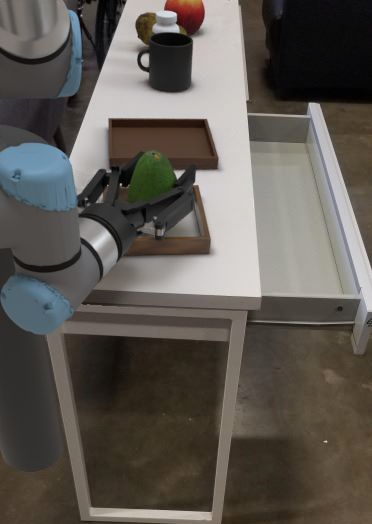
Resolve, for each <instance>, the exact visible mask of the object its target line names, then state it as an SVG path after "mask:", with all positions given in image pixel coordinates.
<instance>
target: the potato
mask: <svg viewBox="0 0 372 524" xmlns="http://www.w3.org/2000/svg"><path fill="white" fill-rule="evenodd" d="M156 23H157V21H156V12H151V11H150V12H149V11H146V12H144V13H141V14H139V15H138V17H137V19H136V20H135V24H134V26H135V27H134V28H135V30H136V34H137V38H138V40H140V41H141V43H143V44H144V45H146V46H149V37H150V36H151V35H152V29H153V26H154V24H156ZM178 27H179V29H180V33H181V34H185V35H187V32H186V31H185V29H184V28H182V27H181V26H179V25H178Z"/></svg>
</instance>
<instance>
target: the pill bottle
mask: <svg viewBox="0 0 372 524" xmlns="http://www.w3.org/2000/svg"><path fill="white" fill-rule="evenodd" d="M155 13H156V21H157V23H156V24H154V26H153V29H152V35H153V34H156V33H161V32H175V33H180V29H179V27H178V25H177V24H176V22H177V14H176V13H175V12H172V11H164V10H158V11H156V12H155Z"/></svg>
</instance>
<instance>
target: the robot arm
mask: <svg viewBox="0 0 372 524" xmlns="http://www.w3.org/2000/svg"><path fill="white" fill-rule="evenodd" d="M82 46H83V45H82V33H81V26H80V20H79V16H78V15H77V13H76V12H75V11H74V10H71V9H69V8H68V7H67V5H66V3H65V2H64V0H0V100H29V99H33V100H34V99H51V100H57V99H59V98H65V97H67V98H68V97H72V96H74V95H76V93H77V92H78V91H79V88H80V85H81V81H82V80H81V79H82V67H83V66H82V65H83V63H82V57H83V56H82V55H83V47H82ZM50 145H51V144H50ZM50 145H46V144H41V143H23V144H21V145H20V146H17V147H13V146H11V147H7V145H6V142H5V141H4V139H3V137H2V135H1V133H0V249H1V248H11V250H12V255H13V260H14V264H15V269H16V272H15V274H14V275H12V276H10V277H9V279H8V281H7V282H6V284H5V285H4V286H3V288H2V290H1V295H0V299H1V303H2V306H3V309H4V310H5V312H6V314H7V315H8V316H9V317H10V319H11V320H12V321H13V322H14V323H16V324H17V325H18V326H19V327H21V328H22V329H24V330H26V331H30V332H32V333H34V334H39V335H46V336H47V335H50V334H52V333H54V332H55V331H57V329H59V328H60V326H61V325H62V324H64V323H65V322H66V321H67V320H68V319H70V318H72V316H73V315H74V313H75V312H76V311H77V309H78V308H80V306H81V305H82V304H83V302H84V301H85V300H86V299H87V297H89V295H90V294H91V293H92V292H93V291H94V290H95V288H96V287H97V286H98V285H99V283H101V281H102V280H103V279H104V278H105V277H106V275H107V274H108V273H109V272H110V271H111V270H112V268H114V266H115V265H116V264H117V263H118V262H119V261H121V259H122V258H123V257H124V256H125V255H124V254H125V253H126V252H127V251H128V249H129V248H130V246H131V245H132V243H133V241H134V239H135V238H137V237H143V235H144V234H147V235H148V234H149V235H154V237H155V240H157V241H161V240H163V239H164V237H166V234H167V233H168V232H169V231H170V230H171V229H173V228H174V227H175V226H176V225H178V223H180V222H182V220H183V219H184V218H186V217H187V216H188V215H189V214H191V213H192V212H193V211H195V206H194V196H195V193H194V192H192V191H193V185H195V183H196V177H197V176H196V175H197V169H196V165H194V164H191V165H190V166H189V167H188V168H187V169H185V170H184V172H183V173H181V175H180V176H179V177H178V178H177V180H176V182H175V183H174V189H172V190H169V191H167V192H165V193H162V194H160V195H158V196H156V197H153V198H151V199H149V200H147V201H145V200H143V199H141V200H139V201H137V202H134V203H128V202H124V201H122V200H119V199H118V197H119V191H120V186H122V187H125V188H126V187H127V186H129V184H130V181H131V178H132V175H133V173H134V170H135V167H136V164H137V162H138V160H139V159H140V157H141V156H142V155H143V154H144V153H145V152H142V151H140V152H139V153H138V154H137V155H136V156H135V157H134V158H133V159H132V160H130V161H129V162H128V163H127V164H126V163H124V164H122V165H121V166H120V167H119V165H112V166H111V169H110V171H107V169H106V168H99V169H97V171H96V173H94V175H93V176H92V177H91V179H90V181H89V182H88V183H87V184H86V186H84V188H83V189H82V191H81V192H80V193H78V194H77V190H76V184H75V183H76V182H75V177H74V171H73V165H72V163H71V160H70V159H69V157H68V155H66V153H64V152H63V151H62V150H61V149H59V148H57V147H55V146H53V145H51V146H50ZM107 186H108V191H107V192H106V197H105V200H104V202H103V201H102V202H98V200H99V199H100V198H101V196H103V192H104V190H105V189H106V187H107ZM151 220H152V221H151ZM150 221H151V222H150Z"/></svg>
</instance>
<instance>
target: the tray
mask: <svg viewBox="0 0 372 524" xmlns="http://www.w3.org/2000/svg"><path fill="white" fill-rule="evenodd" d="M107 120H108V121H107V123H108V124H107V125H108V156H109V157H108V160H109V170H111V166H112V165H119V167H120V166H121V165H122V164H124V163H126V164H127V163H128V162H129V161H130V160H132V159H133V158H134V157H135V156H136V155H137V154H138V153H139V152H140V151H142V152H147V151H151V150H156V151H158V152H161V153H162V154H163V155H164V156H165V157H166V158H167V159H168V161H169V162H170V164H171V166H172V168H173V170H187V168H188V167H189V166H190V165H191V164H194V165H196V170H218V167H219V159H220V158H219V155H218V151H217V148H216V145H215V141H214V138H213V135H212V131H211V127H210V124H209V121H208V118H165V117H163V118H162V117H161V118H153V117H150V118H148V117H147V118H143V117H141V118H139V117H136V118H135V117H133V118H132V117H108V118H107Z"/></svg>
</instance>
